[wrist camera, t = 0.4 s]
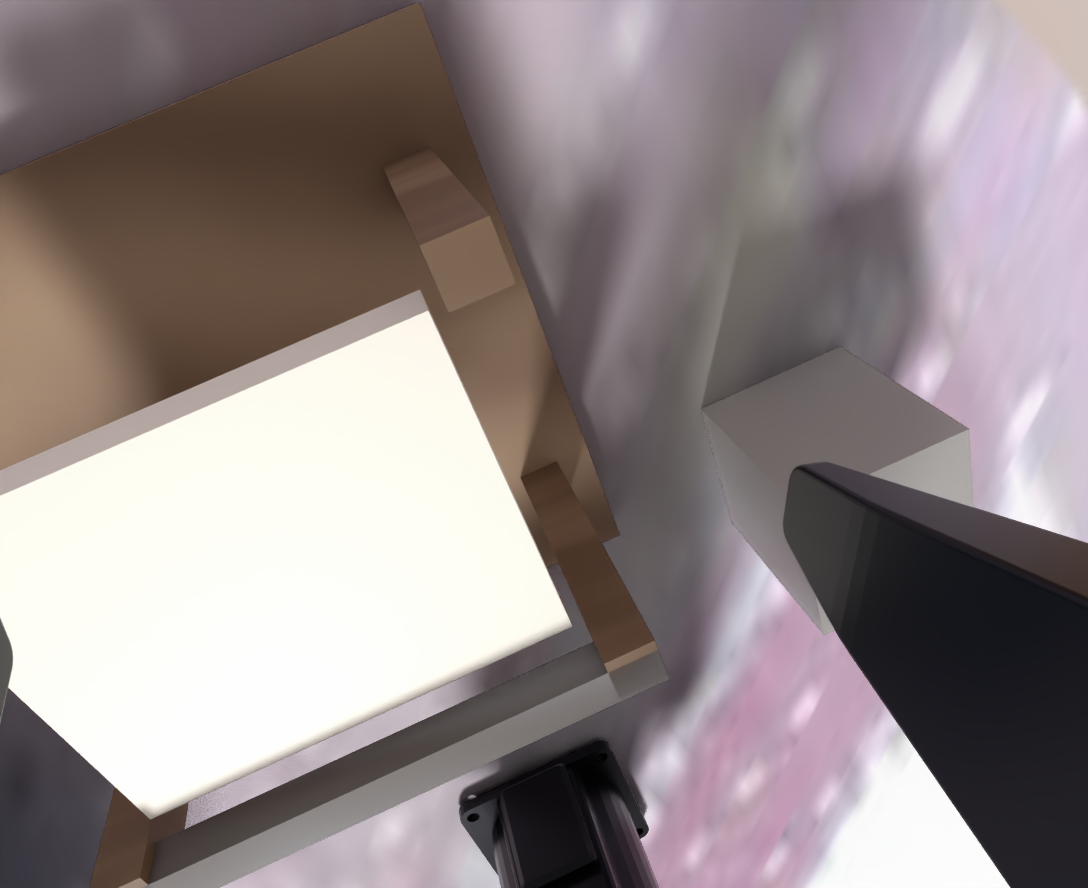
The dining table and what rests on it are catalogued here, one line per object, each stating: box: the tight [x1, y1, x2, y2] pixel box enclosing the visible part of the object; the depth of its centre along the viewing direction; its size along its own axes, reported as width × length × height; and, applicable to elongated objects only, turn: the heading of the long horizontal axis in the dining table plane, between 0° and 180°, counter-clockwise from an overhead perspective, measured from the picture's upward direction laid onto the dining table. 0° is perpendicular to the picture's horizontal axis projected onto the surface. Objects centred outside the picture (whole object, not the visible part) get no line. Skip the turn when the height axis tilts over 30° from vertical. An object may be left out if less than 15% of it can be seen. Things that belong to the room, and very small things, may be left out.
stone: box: [701, 347, 974, 635], centre depth 24 cm, size 5×5×6 cm
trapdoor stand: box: [0, 3, 669, 888], centre depth 18 cm, size 16×15×9 cm
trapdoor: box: [0, 290, 572, 819], centre depth 16 cm, size 8×10×1 cm
